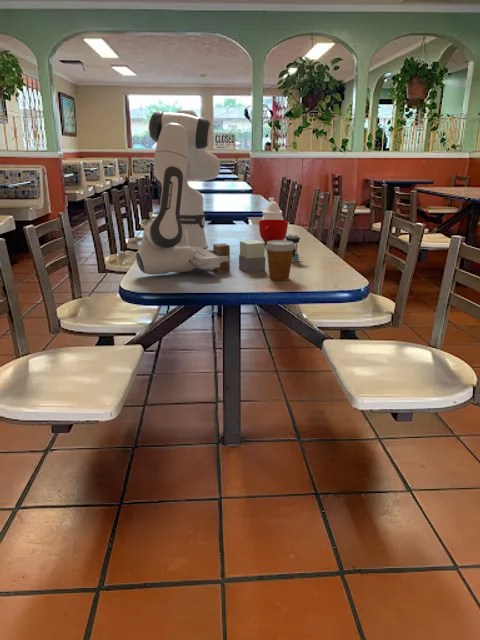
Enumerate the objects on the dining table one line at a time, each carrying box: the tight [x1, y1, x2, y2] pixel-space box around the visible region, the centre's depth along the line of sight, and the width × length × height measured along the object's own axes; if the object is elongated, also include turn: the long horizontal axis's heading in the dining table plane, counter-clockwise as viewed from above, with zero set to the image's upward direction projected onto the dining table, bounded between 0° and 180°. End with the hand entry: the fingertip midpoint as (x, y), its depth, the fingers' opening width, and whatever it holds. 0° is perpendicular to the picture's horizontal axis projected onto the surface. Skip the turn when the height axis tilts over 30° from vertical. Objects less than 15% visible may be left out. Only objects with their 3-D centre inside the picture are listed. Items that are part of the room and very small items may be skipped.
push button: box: [285, 234, 303, 263], centre depth 188 cm, size 7×5×10 cm
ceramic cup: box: [258, 219, 288, 245], centre depth 223 cm, size 13×17×10 cm
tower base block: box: [238, 254, 266, 273], centre depth 176 cm, size 7×7×5 cm
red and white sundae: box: [258, 197, 285, 237], centre depth 245 cm, size 13×13×18 cm
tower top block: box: [239, 239, 266, 259], centre depth 174 cm, size 6×6×5 cm
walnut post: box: [212, 243, 231, 273], centre depth 174 cm, size 4×4×9 cm
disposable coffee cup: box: [265, 239, 296, 282], centre depth 163 cm, size 10×10×12 cm
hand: (222, 255), depth 174 cm, fingers open, 8 cm apart
